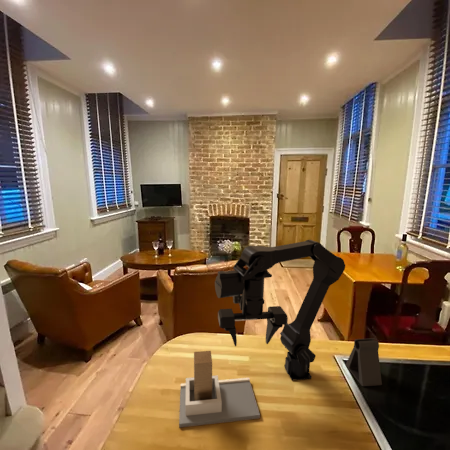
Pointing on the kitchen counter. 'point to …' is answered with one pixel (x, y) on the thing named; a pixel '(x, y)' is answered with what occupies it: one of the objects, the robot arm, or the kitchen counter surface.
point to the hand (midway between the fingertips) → (251, 344)
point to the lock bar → (202, 375)
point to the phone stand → (365, 362)
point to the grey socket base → (218, 403)
